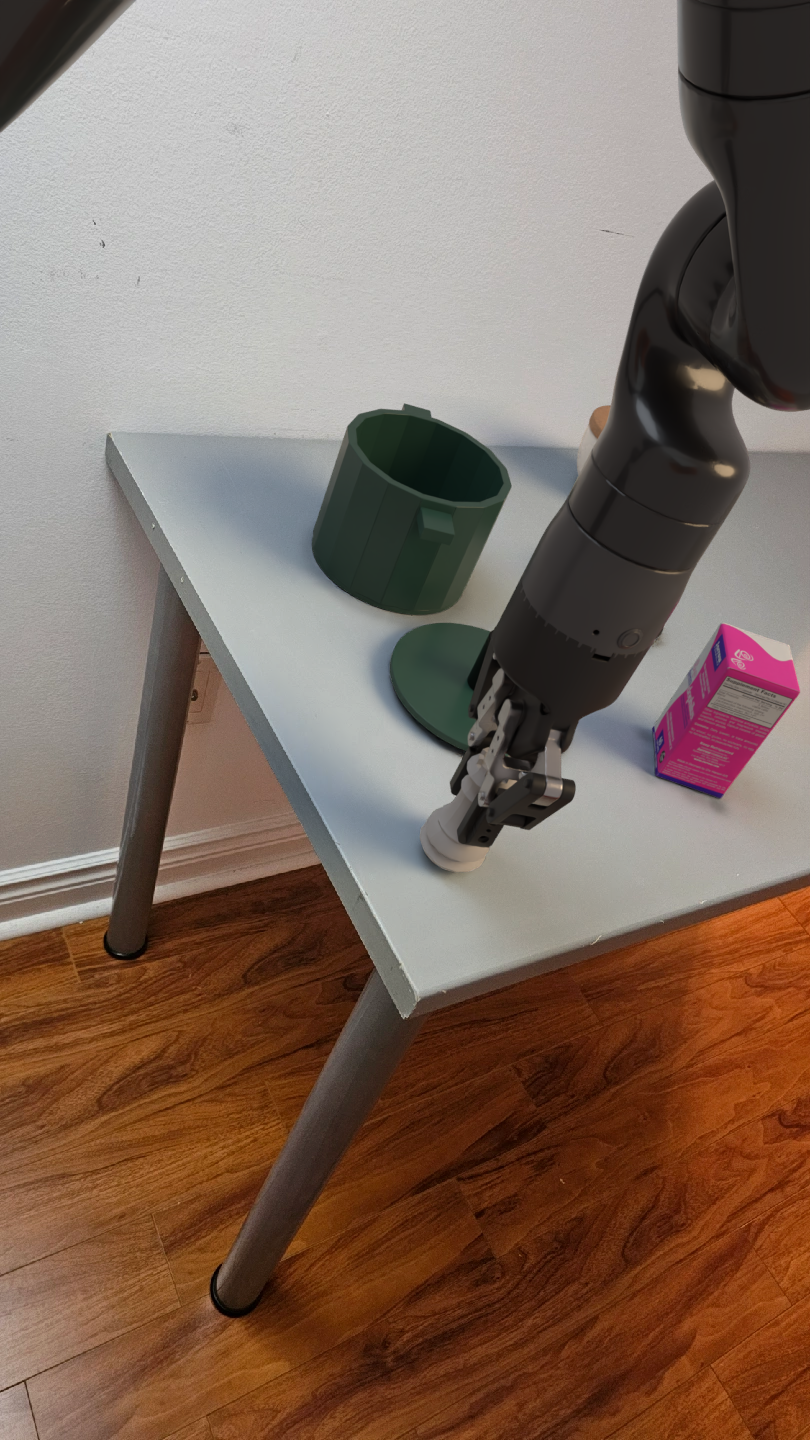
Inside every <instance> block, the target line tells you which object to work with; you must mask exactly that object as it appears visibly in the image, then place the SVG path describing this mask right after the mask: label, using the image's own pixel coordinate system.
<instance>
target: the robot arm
mask: <svg viewBox="0 0 810 1440" xmlns="http://www.w3.org/2000/svg"><path fill="white" fill-rule="evenodd" d="M136 1H137V0H0V134H2V133H3V132H4V131H5V130H6V129H7V128H8V127H9V126H10V125H12V124H13V123H14V122H15V121H16V120H17V119H18V118H19V117H21V116H22V115H23V114H24V112H26V111H28V109H29V108H30V107H31V106H32V105H33V104H34V103H35V102H36V101H37V100H38V99H39V98H40V97H41V96H42V95H43V94H44V93H45V92H46V91H47V90H49V88H50V87H52V85H54V83H56V81H57V80H59V79H60V78H61V77H62V76H63V75H64V74H65V73H66V72H67V71H68V70H69V69H70V68H71V67H72V66H73V65H74V64H75V63H76V62H78V60H79V59H80V58H81V57H82V56H83V55H84V54H85V53H87V51H88V50H89V49H90V48H91V47H92V46H93V45H94V44H95V43H96V42H97V41H99V40H100V38H101V37H102V36H103V35H104V34H105V33H106V32H107V31H108V30H109V29H110V27H112V25H113V24H114V23H115V22H117V20H119V18H120V17H121V16H122V15H123V14H124V13H125V12H126V11H127V10H128V9H129V8H131V6H133V4H134V3H136ZM676 27H677V28H676V29H677V30H676V31H677V32H676V34H677V35H676V36H677V40H676V41H677V89H678V101H679V111H680V112H679V113H680V117H681V122H682V126H683V130H684V133H685V136H686V139H687V141H688V142H689V145H690V146H691V148H692V150H693V151H694V153H695V154H696V156H697V158H698V159H699V160H700V162H701V163H702V164H703V165H704V167H706V169H707V171H708V172H709V174H710V175H711V177H712V178H713V180H712V181H710V182H708V183H706V184H705V185H704V186H703V187H701V188H700V189H699V190H698V191H697V192H695V193H694V194H693V195H692V196H691V197H690V198H689V199H688V200H686V202H685V203H684V204H683V205H682V206H681V207H680V208H679V210H678V211H677V212H676V213H675V214H674V216H673V217H672V218H671V220H670V221H669V222H668V224H667V225H666V227H665V228H664V230H663V231H662V233H661V235H660V236H659V237H658V240H657V242H656V244H655V245H654V248H653V250H652V251H651V254H650V255H649V257H648V261H647V263H646V265H645V268H644V270H643V274H642V276H641V278H640V279H641V280H640V282H639V286H638V290H637V293H636V296H635V299H634V304H633V307H632V310H631V314H630V319H629V322H628V323H629V324H628V326H627V331H626V335H625V340H624V344H623V347H622V350H621V355H620V359H619V362H618V367H617V371H616V375H615V380H614V384H613V385H614V386H613V391H612V395H611V403H610V405H611V406H610V411H609V415H608V419H607V422H606V425H605V427H604V429H603V430H602V432H601V434H600V436H599V438H598V439H597V441H596V443H595V445H594V446H593V448H592V450H591V452H590V454H589V456H588V458H587V460H586V462H585V464H584V466H583V468H582V470H581V472H580V474H579V475H578V476H577V478H576V480H575V482H574V483H573V485H572V487H571V489H570V490H569V493H568V495H567V497H566V498H565V500H564V502H563V504H562V505H561V507H560V508H559V509H558V511H557V512H556V513H555V515H554V517H553V518H552V519H551V521H550V522H549V523H548V525H547V526H546V528H545V530H544V532H543V534H542V535H541V537H540V539H539V541H538V543H537V545H536V547H535V548H534V551H533V553H532V554H531V557H530V558H529V561H528V563H527V565H526V566H525V569H524V571H523V572H522V574H521V576H520V578H519V580H518V583H517V584H516V586H515V588H514V590H513V593H512V595H511V596H510V599H509V600H508V602H507V604H506V606H505V607H504V610H503V612H502V614H501V616H500V618H499V620H498V622H497V624H496V625H495V627H494V628H493V629H492V630H493V632H492V636H491V639H490V642H489V646H488V649H487V652H486V655H485V658H484V661H483V664H482V667H481V670H480V674H479V677H478V680H477V683H476V686H475V689H474V692H473V695H472V698H471V702H470V705H469V707H468V716H469V718H472V719H476V722H475V723H474V725H473V726H472V728H471V729H470V731H469V734H468V745H469V747H468V749H467V751H465V752H464V755H463V756H462V758H461V759H460V762H459V764H458V766H457V767H456V769H455V771H454V773H453V775H452V777H451V779H450V780H449V787H450V793H451V795H453V796H455V797H456V796H457V795H458V793H459V792H460V790H461V783H462V779H463V778H464V777H465V776H466V775H469V774H468V771H467V762H468V761H469V759H470V758H471V757H472V756H474V755H477V754H479V753H481V752H482V750H483V749H485V748H487V747H489V749H488V752H487V754H486V757H485V762H486V765H487V767H488V773H487V775H486V777H485V780H484V782H483V784H482V787H481V789H480V791H479V794H477V795H476V797H475V799H474V800H473V802H472V804H471V806H470V807H469V809H468V811H467V813H466V814H465V816H464V818H463V820H462V821H461V823H460V825H459V827H458V829H457V836H458V841H459V843H461V844H465V845H471V846H477V847H487V848H489V847H490V848H491V847H492V846H493V844H494V843H495V841H496V839H497V838H498V836H499V834H500V833H501V831H502V830H503V828H504V827H505V826H507V827H512V828H519V829H520V830H526V831H530V830H532V829H533V828H535V827H536V826H538V825H539V824H541V823H542V822H543V821H545V820H546V819H549V818H550V817H551V816H553V815H555V814H556V813H557V812H558V811H560V810H561V809H563V808H565V806H568V805H569V804H570V803H572V801H573V800H574V798H575V795H576V790H577V787H576V786H577V785H576V782H575V780H574V779H570V778H565V777H562V754H565V752H567V751H568V749H569V748H570V746H571V745H572V743H573V740H574V736H575V733H576V729H577V727H578V725H579V722H580V720H582V719H583V718H585V717H587V716H589V715H591V714H593V713H596V712H598V711H601V710H603V709H606V708H608V707H610V706H611V705H612V704H614V703H615V702H616V701H617V700H618V698H619V697H620V696H621V694H622V692H623V691H624V689H625V688H626V687H627V685H628V684H629V682H630V680H631V679H632V678H633V675H634V673H635V672H636V671H637V669H638V667H639V665H640V664H641V663H642V661H643V659H644V658H645V656H646V655H647V653H648V652H649V650H650V648H651V647H652V645H653V644H654V642H655V641H656V640H657V639H656V637H657V636H658V634H659V633H660V631H661V630H662V628H663V627H665V625H666V624H667V622H668V620H669V619H670V618H671V616H672V615H673V613H674V611H675V609H676V608H677V606H678V605H679V602H680V601H681V598H682V596H683V595H684V593H685V590H686V587H687V585H688V584H689V581H690V578H691V576H692V574H693V572H694V570H695V569H696V567H697V565H698V563H699V562H700V560H701V559H702V558H703V556H704V554H705V552H706V551H707V550H708V548H709V546H710V545H711V543H712V542H713V540H714V538H715V537H716V535H717V534H718V532H719V531H720V529H721V528H722V526H723V525H724V523H725V521H726V519H727V518H728V517H729V515H730V513H731V511H732V510H733V509H734V507H735V505H736V504H737V502H738V500H739V498H740V496H741V495H742V493H743V491H744V489H745V487H746V485H747V483H748V480H749V477H750V475H751V474H750V472H751V459H750V455H749V451H748V448H747V445H746V443H745V440H744V439H743V436H742V434H741V432H740V429H739V427H738V425H737V423H736V419H735V416H734V409H733V397H734V393H735V390H737V391H738V392H739V393H740V394H742V395H743V396H744V397H745V398H747V399H749V400H751V401H752V402H754V403H755V404H758V405H759V406H761V407H764V408H767V409H770V410H774V411H778V412H784V413H797V412H805V411H810V0H676ZM663 629H664V628H663ZM655 639H656V640H655ZM491 686H492V687H491ZM490 687H491V688H490ZM505 754H508V755H509V756H510V757H508V756H505ZM505 779H510V780H516V781H517V782H516V783H515V784H513V785H512V786H511V787H509V788H508V789H503V788H499V786H500V784H501V782H502V781H503V780H505Z"/></svg>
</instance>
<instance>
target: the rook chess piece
mask: <svg viewBox="0 0 810 1440" xmlns="http://www.w3.org/2000/svg"><path fill="white" fill-rule="evenodd" d="M488 749H489V747H487V748H485V749H483V750H482V752H481V753H479V754H477V755H474V756H472V757H471V758H470V759H469V761H468V762H467V771H468V774H469V775H466V776H465V777H464V778H463V779H462V783H461V790H460V792H459V793H458V795H457V796H455V797H454V798H453V799H452V801H450V802H449V803H446V804H444V805H442V806H441V807H438V808H436V809H435V810H433V811H432V812H431V814H430V815H429V816H428V817H427V819H426V821H425V822H424V823H423V825H422V826H421V827H420V833H419V840H420V843H421V846H422V849H423V852H424V854H425V855H426V857H428V859H429V860H430V861H431V862H432V863H433V864H434V865H436V866H438V867H439V868H441V869H442V870H445V871H448V872H451V873H469V872H472V871H474V870H477V869H478V868H480V867H481V866H482V864H483V863H484V862H485V860H486V855H487V854H488V852H489V851H490V848H491V846H490V847H489V848H487V847H477V846H471V845H465V844H461V843H459V841H458V836H457V829H458V827H459V825H460V823H461V821H462V820H463V818H464V816H465V814H466V813H467V811H468V809H469V807H470V806H471V804H472V802H473V800H474V799H475V797H476V795H477V794H479V791H480V789H481V787H482V784H483V782H484V780H485V777H486V775H487V773H488V767H487V765H486V762H485V757H486V754H487V752H488ZM508 757H510V756H508ZM516 782H517V781H516V780H510V779H505V780H503V781H502V782H501V784H500V786H499V788H503V789H508V788H509V787H511V786H512V785H513V784H515V783H516Z"/></svg>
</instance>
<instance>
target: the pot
mask: <svg viewBox="0 0 810 1440" xmlns="http://www.w3.org/2000/svg"><path fill="white" fill-rule="evenodd" d="M328 481H329V482H328V484H327V487H326V490H325V494H324V496H323V499H322V503H321V506H320V509H319V512H318V515H317V518H316V520H315V524H314V528H313V530H312V538H311V551H312V553H313V557H314V559H315V561H316V563H317V565H318V566H319V568H320V569H321V571H322V572H323V573H324V574H325V576H327V577H328V579H329V580H331V581H332V582H333V583H334V584H335V585H336V586H337V587H339V588H340V589H342V590H343V591H344V592H346V593H347V594H349V595H350V596H352V597H354V598H356V599H358V600H360V601H362V602H363V603H366V604H368V605H371V606H373V607H375V608H379V609H381V610H383V611H384V610H385V611H388V612H393V613H397V614H401V615H412V616H426V615H433V614H439V613H442V612H445V611H447V610H449V609H451V608H452V607H454V606H455V605H456V604H457V603H458V602H459V601H460V599H461V598H462V595H463V593H464V591H465V589H466V588H467V586H468V583H469V581H470V579H471V577H472V575H473V572H474V571H475V568H476V566H477V563H478V562H479V559H480V557H481V555H482V553H483V550H484V549H485V547H486V544H487V542H488V540H489V538H490V535H491V533H492V531H493V529H494V527H495V525H496V522H497V520H498V518H499V516H500V514H501V511H502V509H503V507H504V505H505V504H506V501H507V499H508V496H509V495H510V492H511V490H512V487H513V486H512V482H511V478H510V475H509V472H508V469H507V467H506V466H505V465H504V464H503V463H502V461H501V460H500V459H499V458H498V457H497V455H496V454H495V453H494V452H493V451H492V449H490V448H489V447H488V446H486V445H484V444H483V443H482V442H480V441H479V440H477V439H476V438H475V437H473V436H472V435H471V434H469V433H468V432H466V431H464V430H462V429H459V428H458V427H455V426H453V425H452V424H450V423H447V422H445V421H443V420H440V419H438V418H437V417H436V418H435V417H432V412H431V410H430V409H426V408H422V407H419V406H416V405H412V404H408V403H405V402H404V403H403V405H402V408H401V409H389V408H377V409H373V410H369V411H365V412H360V413H358V414H357V415H356V416H355V417H354V418H353V419H352V420H351V421H350V423H348V425H347V426H346V429H345V432H344V435H343V439H342V441H341V445H340V448H339V451H338V453H337V457H336V459H335V462H334V466H333V469H332V472H331V475H330V478H329V480H328Z"/></svg>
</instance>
